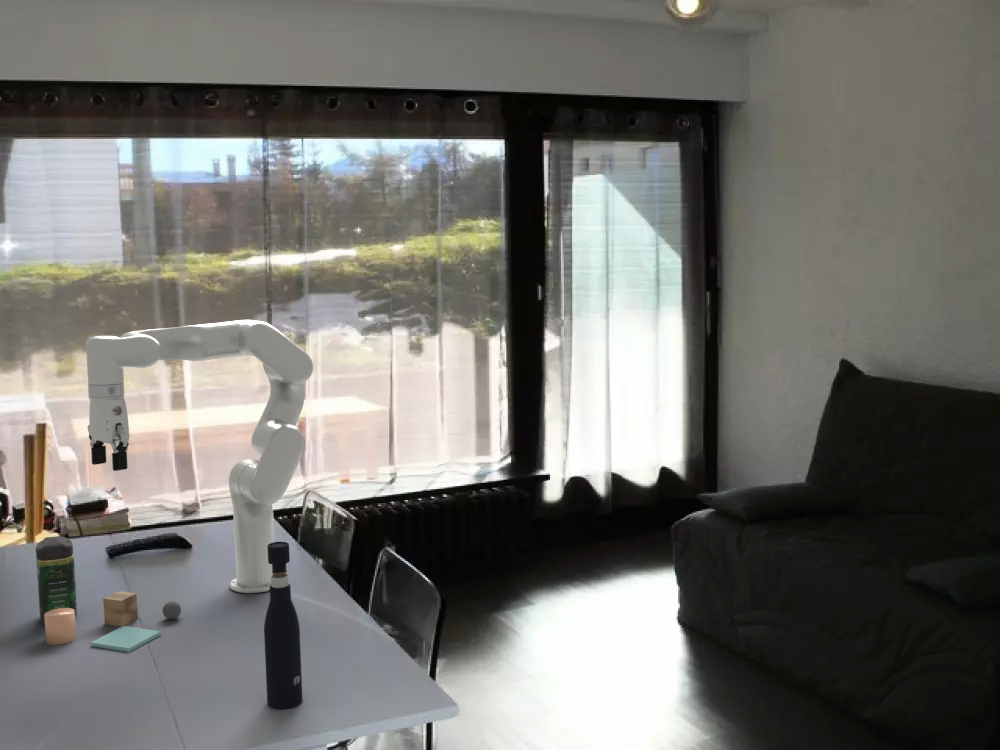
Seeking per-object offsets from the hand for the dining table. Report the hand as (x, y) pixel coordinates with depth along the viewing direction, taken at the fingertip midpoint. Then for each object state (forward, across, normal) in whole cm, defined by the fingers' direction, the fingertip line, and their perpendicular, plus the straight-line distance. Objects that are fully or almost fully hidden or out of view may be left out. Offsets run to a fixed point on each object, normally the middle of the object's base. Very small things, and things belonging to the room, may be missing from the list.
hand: (109, 466), depth 238 cm
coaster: (+35, -16, +6) cm, 39 cm away
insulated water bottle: (+35, -67, +1) cm, 76 cm away
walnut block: (+35, -4, +1) cm, 35 cm away
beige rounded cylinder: (+35, -5, +15) cm, 38 cm away
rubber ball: (+32, -12, -8) cm, 35 cm away
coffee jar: (+35, +8, +9) cm, 37 cm away
